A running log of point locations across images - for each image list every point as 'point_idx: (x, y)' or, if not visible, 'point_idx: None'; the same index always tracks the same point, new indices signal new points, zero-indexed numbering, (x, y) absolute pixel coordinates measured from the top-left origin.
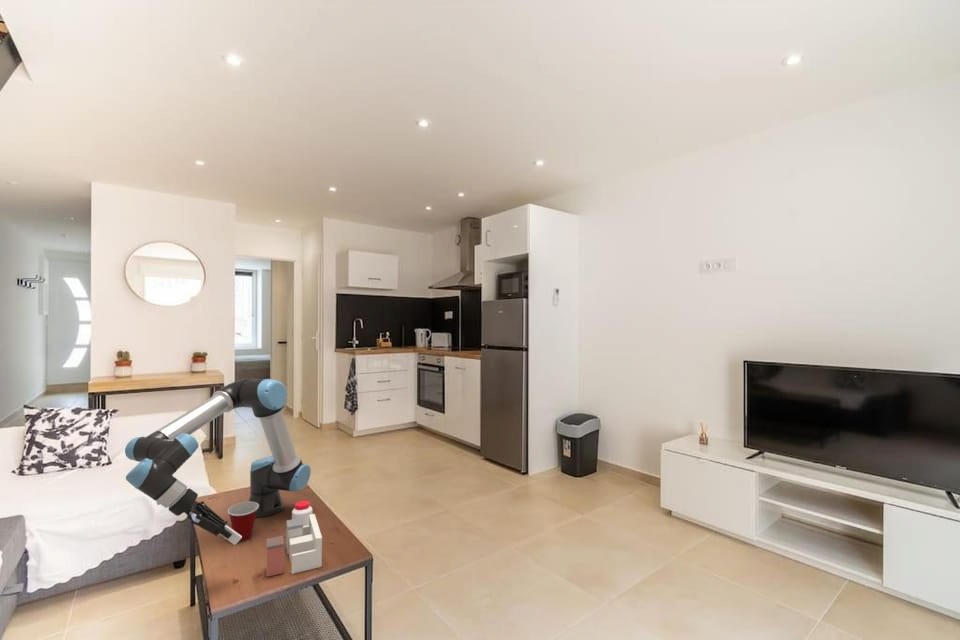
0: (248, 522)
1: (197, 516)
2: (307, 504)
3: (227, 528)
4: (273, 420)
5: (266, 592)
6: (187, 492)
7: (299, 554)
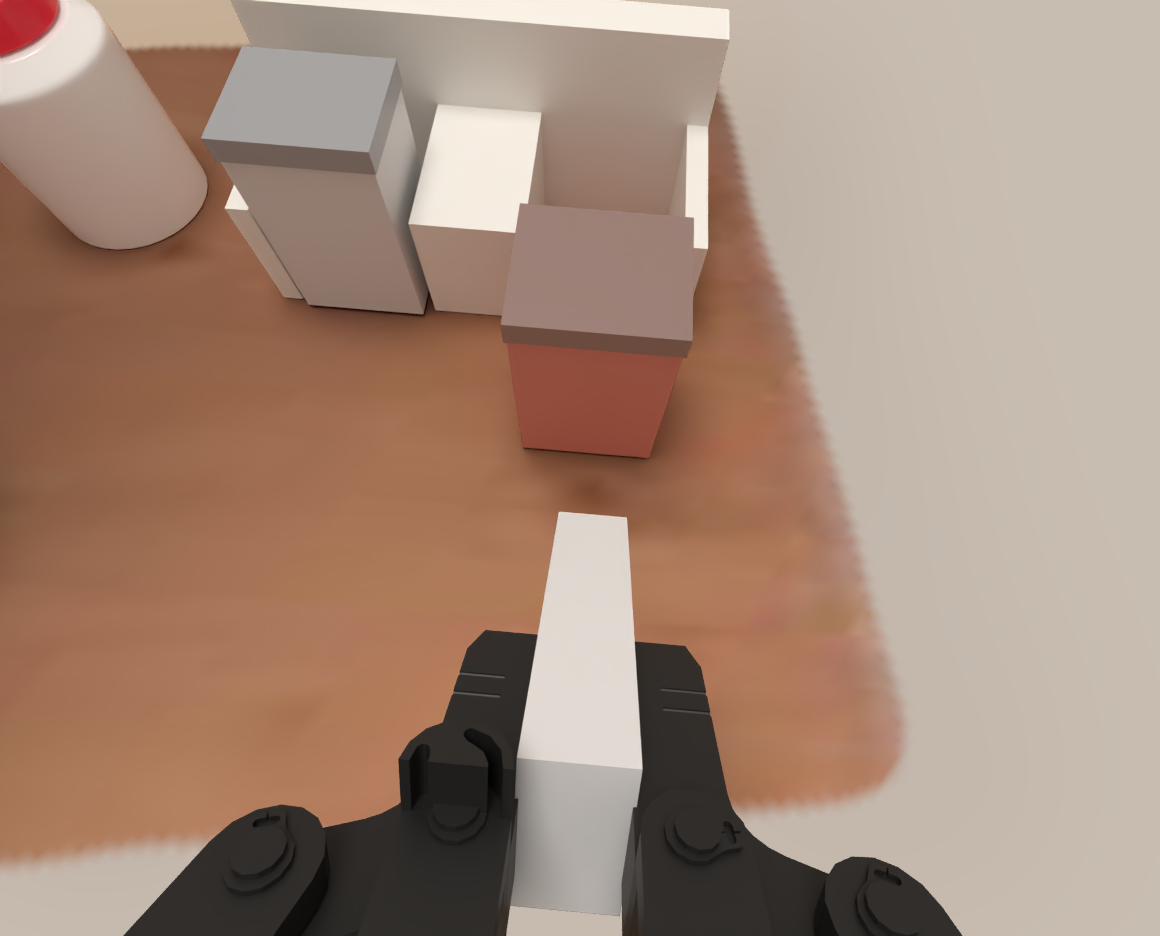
0: None
1: None
2: None
3: (637, 722)
4: None
5: (830, 480)
6: None
7: (707, 209)
